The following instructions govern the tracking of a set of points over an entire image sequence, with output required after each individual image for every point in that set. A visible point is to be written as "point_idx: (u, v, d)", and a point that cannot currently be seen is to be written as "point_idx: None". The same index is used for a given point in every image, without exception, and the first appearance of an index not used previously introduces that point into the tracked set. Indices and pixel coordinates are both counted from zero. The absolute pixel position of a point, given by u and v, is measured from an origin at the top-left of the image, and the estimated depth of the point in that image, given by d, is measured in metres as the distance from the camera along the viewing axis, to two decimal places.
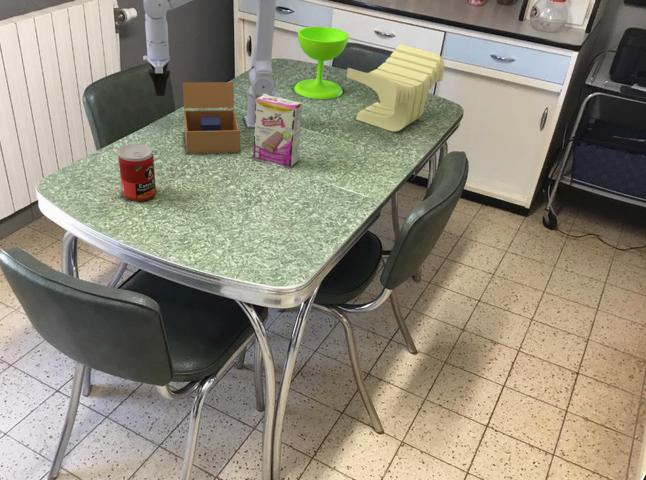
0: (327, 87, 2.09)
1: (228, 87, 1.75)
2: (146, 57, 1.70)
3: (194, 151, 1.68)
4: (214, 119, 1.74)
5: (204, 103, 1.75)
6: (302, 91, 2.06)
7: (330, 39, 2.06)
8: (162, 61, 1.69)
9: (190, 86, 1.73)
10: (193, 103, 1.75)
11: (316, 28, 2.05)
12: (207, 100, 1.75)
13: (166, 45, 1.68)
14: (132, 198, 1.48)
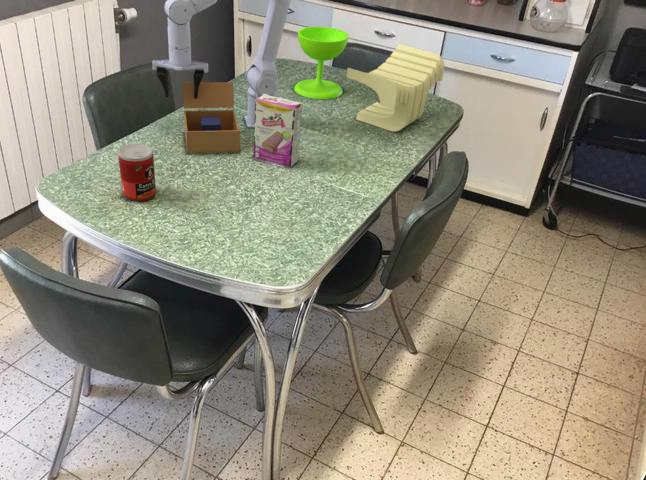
0: (327, 87, 2.09)
1: (228, 87, 1.76)
2: (180, 67, 1.66)
3: (194, 151, 1.68)
4: (214, 119, 1.74)
5: (204, 103, 1.75)
6: (302, 91, 2.06)
7: (330, 39, 2.06)
8: (191, 63, 1.69)
9: (190, 86, 1.74)
10: (193, 103, 1.75)
11: (316, 28, 2.05)
12: (207, 100, 1.76)
13: None
14: (132, 198, 1.48)
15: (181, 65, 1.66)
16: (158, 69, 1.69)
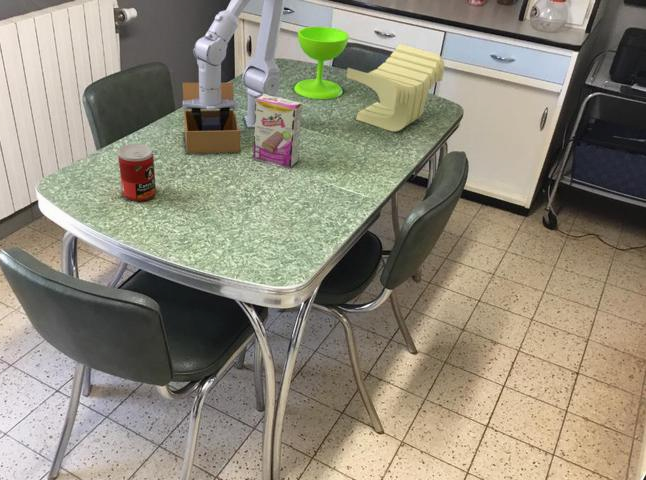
0: (327, 87, 2.09)
1: (228, 87, 1.76)
2: (212, 106, 1.68)
3: (194, 151, 1.68)
4: (214, 119, 1.74)
5: None
6: (302, 91, 2.06)
7: (330, 39, 2.06)
8: (220, 101, 1.71)
9: (190, 86, 1.75)
10: None
11: (316, 28, 2.05)
12: None
13: None
14: (132, 198, 1.48)
15: (213, 104, 1.68)
16: (193, 109, 1.70)
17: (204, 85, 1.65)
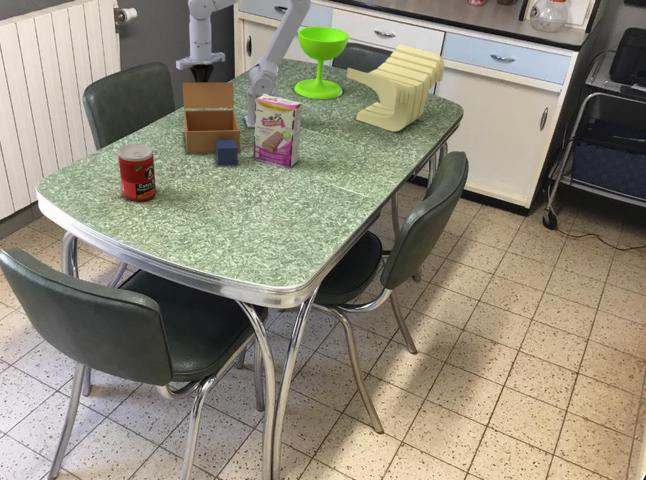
0: (327, 87, 2.09)
1: (228, 87, 1.76)
2: (208, 60, 1.72)
3: (194, 151, 1.68)
4: (230, 142, 1.64)
5: (204, 103, 1.76)
6: (302, 91, 2.06)
7: (330, 39, 2.06)
8: None
9: (190, 86, 1.74)
10: (193, 103, 1.75)
11: (316, 28, 2.05)
12: (207, 100, 1.76)
13: None
14: (132, 198, 1.48)
15: (208, 58, 1.72)
16: (195, 66, 1.72)
17: (190, 38, 1.69)
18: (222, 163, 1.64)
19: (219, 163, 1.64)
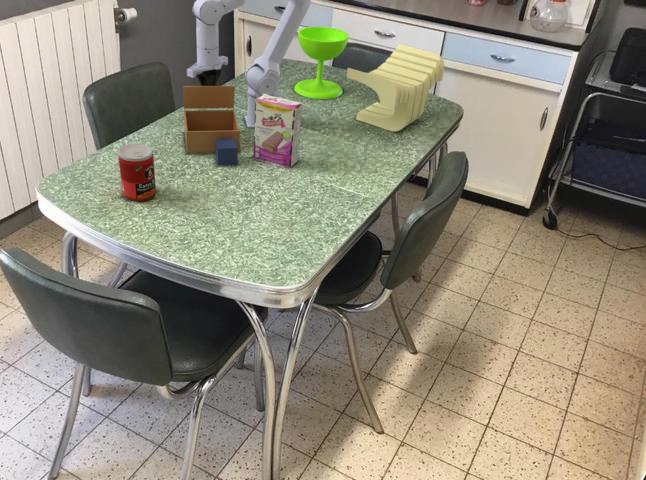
0: (327, 87, 2.09)
1: (229, 91, 1.73)
2: (218, 65, 1.69)
3: (194, 151, 1.68)
4: (230, 142, 1.64)
5: (204, 104, 1.75)
6: (302, 91, 2.06)
7: (330, 39, 2.06)
8: None
9: (191, 90, 1.71)
10: (193, 104, 1.74)
11: (316, 28, 2.05)
12: (207, 102, 1.74)
13: None
14: (132, 198, 1.48)
15: (217, 63, 1.69)
16: (205, 72, 1.69)
17: (199, 44, 1.65)
18: (222, 163, 1.64)
19: (219, 163, 1.64)
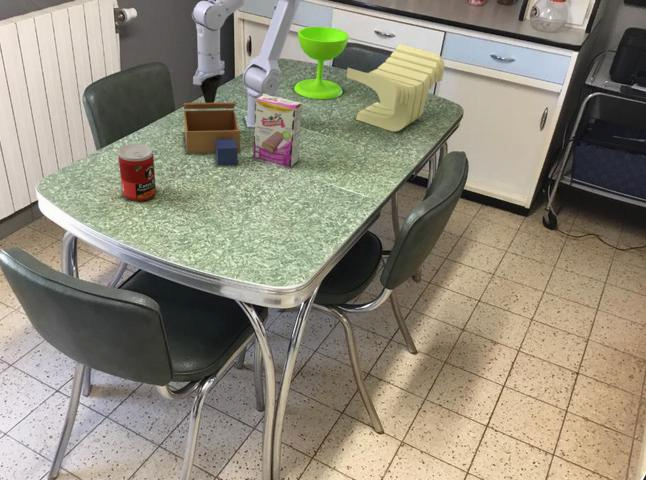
0: (327, 87, 2.09)
1: (230, 104, 1.72)
2: (220, 70, 1.66)
3: (194, 151, 1.68)
4: (230, 142, 1.64)
5: (204, 108, 1.75)
6: (302, 91, 2.06)
7: (330, 39, 2.06)
8: None
9: (192, 105, 1.70)
10: (193, 108, 1.74)
11: (316, 28, 2.05)
12: (208, 107, 1.74)
13: None
14: (132, 198, 1.48)
15: (219, 68, 1.66)
16: (208, 78, 1.66)
17: (202, 50, 1.61)
18: (222, 163, 1.64)
19: (219, 163, 1.64)
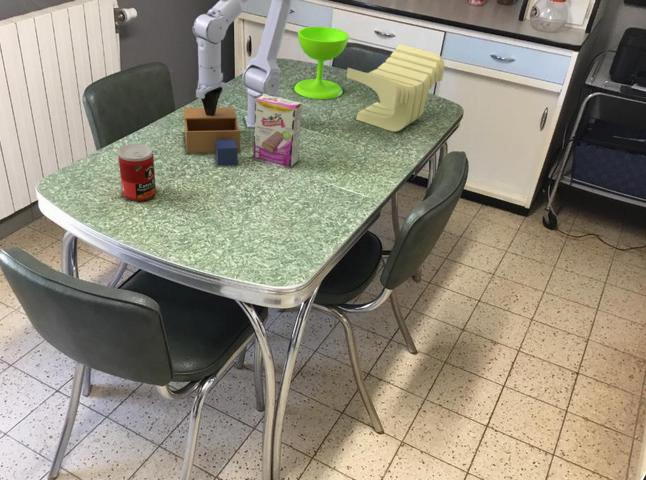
0: (327, 87, 2.09)
1: None
2: (221, 82, 1.66)
3: (194, 151, 1.68)
4: (230, 142, 1.64)
5: None
6: (302, 91, 2.06)
7: (330, 39, 2.06)
8: None
9: None
10: None
11: (316, 28, 2.05)
12: None
13: None
14: (132, 198, 1.48)
15: (220, 81, 1.67)
16: (209, 91, 1.66)
17: (204, 64, 1.61)
18: (222, 163, 1.64)
19: (219, 163, 1.64)
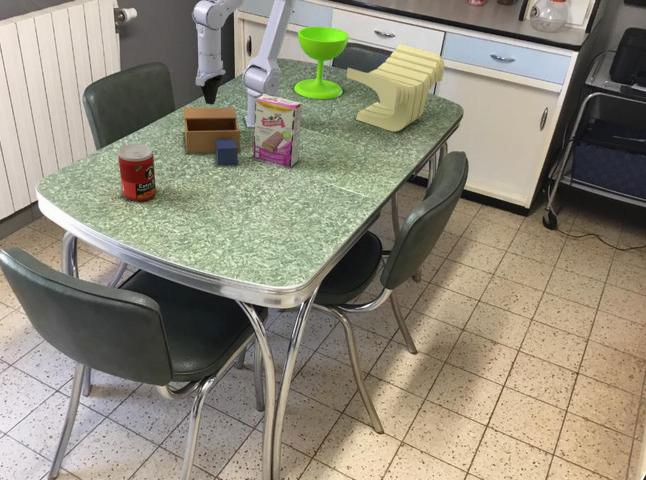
0: (327, 87, 2.09)
1: None
2: (221, 70, 1.64)
3: (194, 151, 1.68)
4: (230, 142, 1.64)
5: None
6: (302, 91, 2.06)
7: (330, 39, 2.06)
8: None
9: None
10: None
11: (316, 28, 2.05)
12: None
13: None
14: (132, 198, 1.48)
15: (220, 68, 1.65)
16: (209, 79, 1.64)
17: (203, 51, 1.59)
18: (222, 163, 1.64)
19: (219, 163, 1.64)
